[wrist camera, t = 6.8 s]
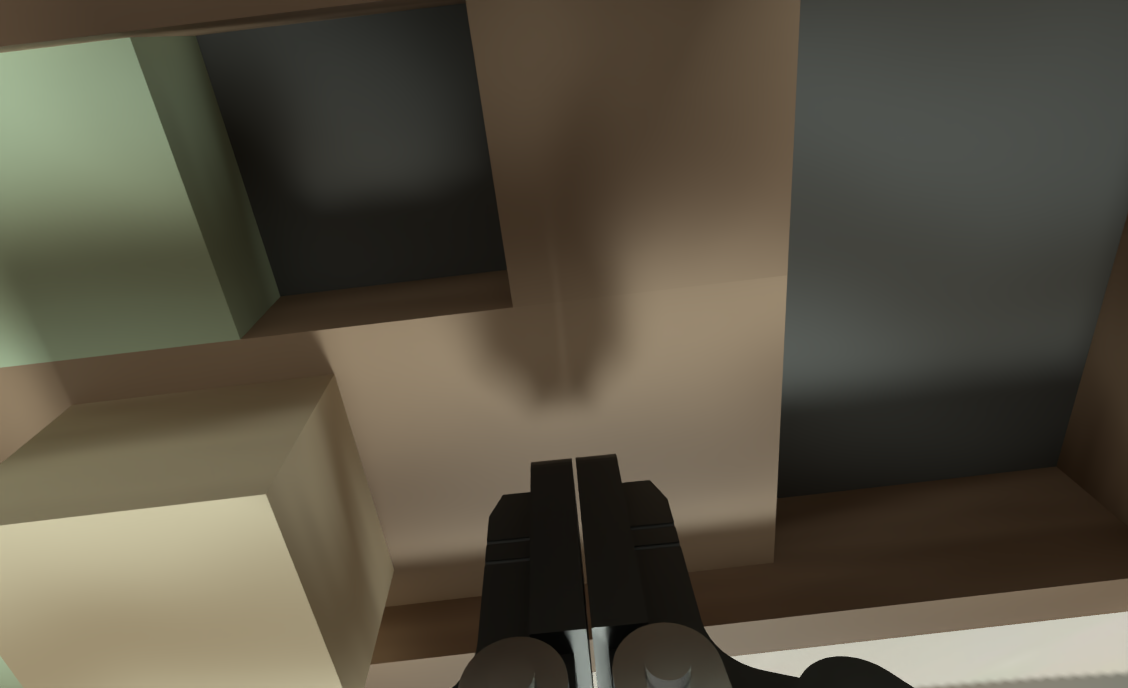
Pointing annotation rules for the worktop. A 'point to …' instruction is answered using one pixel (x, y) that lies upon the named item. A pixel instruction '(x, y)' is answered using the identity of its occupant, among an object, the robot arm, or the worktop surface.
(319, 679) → the birch block
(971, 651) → the worktop surface
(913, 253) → the channel
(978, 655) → the worktop surface
